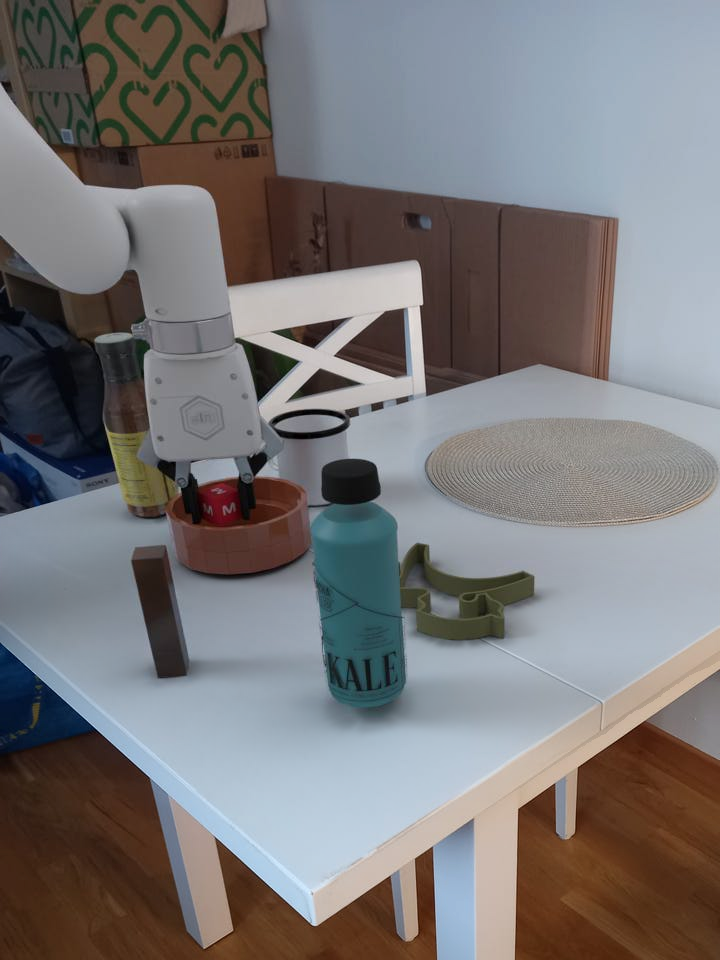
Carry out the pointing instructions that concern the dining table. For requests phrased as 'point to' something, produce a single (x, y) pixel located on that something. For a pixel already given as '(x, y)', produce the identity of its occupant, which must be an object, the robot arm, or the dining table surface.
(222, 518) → the red letter cube
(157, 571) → the stick
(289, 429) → the mug
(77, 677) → the dining table surface
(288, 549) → the bowl
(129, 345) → the sauce bottle
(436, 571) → the cookie cutter
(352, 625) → the beverage bottle
